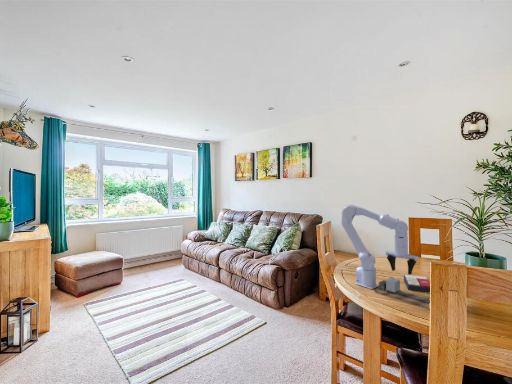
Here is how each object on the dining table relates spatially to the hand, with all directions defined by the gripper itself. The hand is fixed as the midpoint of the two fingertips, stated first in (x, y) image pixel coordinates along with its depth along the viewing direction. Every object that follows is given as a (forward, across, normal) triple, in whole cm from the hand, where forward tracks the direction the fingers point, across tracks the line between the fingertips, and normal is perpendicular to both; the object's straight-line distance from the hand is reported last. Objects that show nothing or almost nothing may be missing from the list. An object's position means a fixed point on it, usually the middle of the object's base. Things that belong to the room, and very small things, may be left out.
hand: (401, 272), depth 122 cm
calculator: (+10, +2, +13) cm, 17 cm away
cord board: (+9, +5, -7) cm, 13 cm away
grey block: (+8, -1, -7) cm, 10 cm away
